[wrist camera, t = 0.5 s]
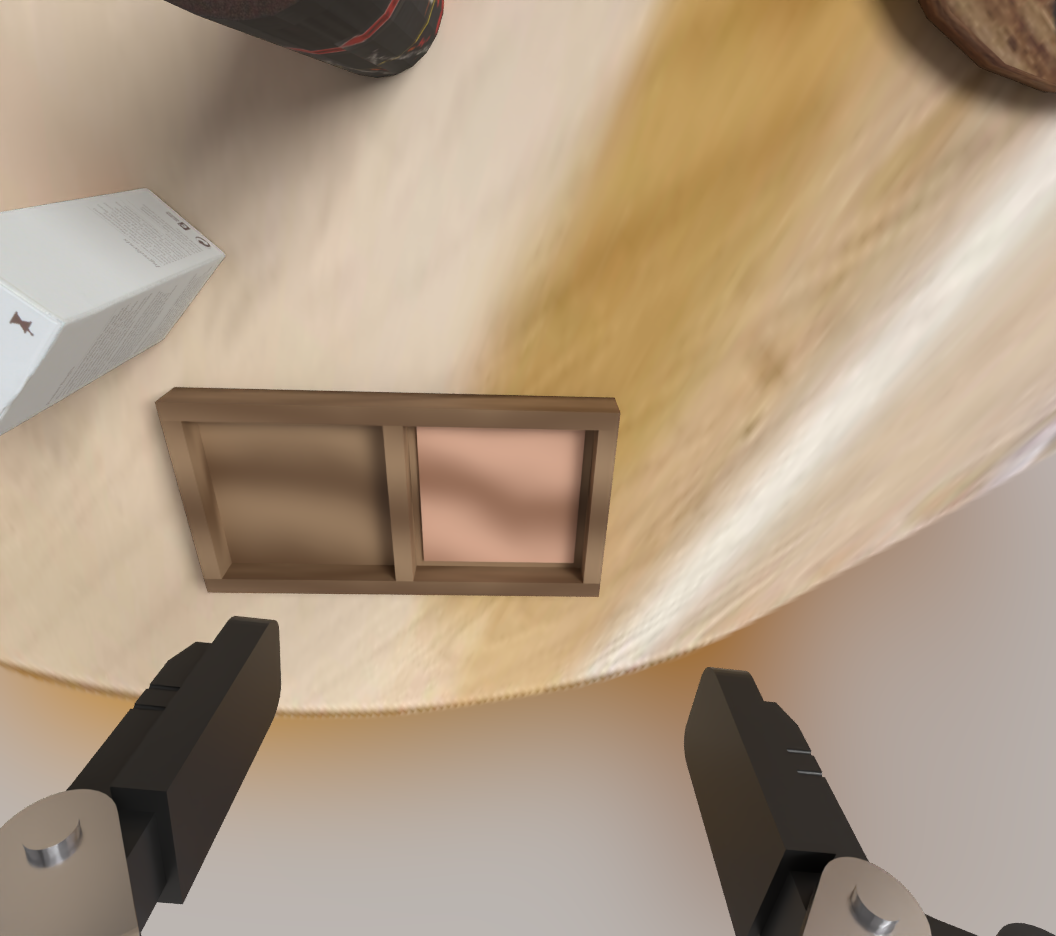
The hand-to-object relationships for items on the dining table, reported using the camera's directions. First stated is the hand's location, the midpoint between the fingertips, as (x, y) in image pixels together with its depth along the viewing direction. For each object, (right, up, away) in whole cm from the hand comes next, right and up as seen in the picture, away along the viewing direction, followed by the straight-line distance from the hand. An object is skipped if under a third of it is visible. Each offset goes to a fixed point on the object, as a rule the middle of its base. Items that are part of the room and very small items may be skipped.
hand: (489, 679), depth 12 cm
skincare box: (-17, +14, +18) cm, 28 cm away
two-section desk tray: (-6, +3, +24) cm, 25 cm away
